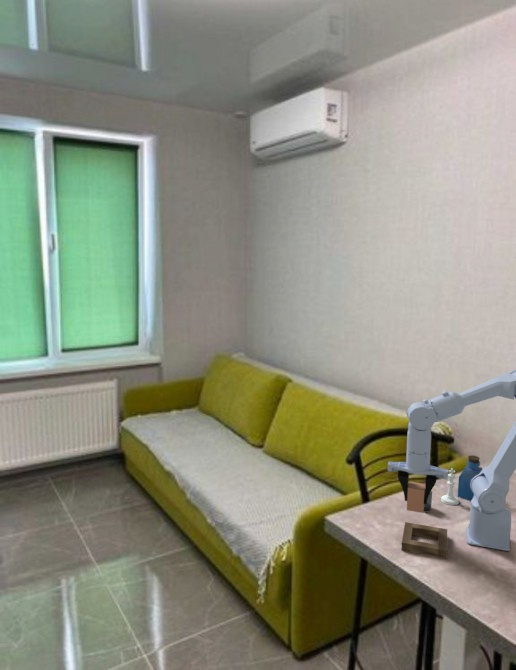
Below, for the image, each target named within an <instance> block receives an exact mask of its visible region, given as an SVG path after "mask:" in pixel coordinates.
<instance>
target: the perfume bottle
mask: <svg viewBox="0 0 516 670" xmlns="http://www.w3.org/2000/svg"><path fill="white" fill-rule="evenodd" d="M467 457H468V459H467V460H466V462H467V463H466V464H467V465H466V466H465V467H464V469H463V470H462V472H461V474H460V475H459V477H458V484H457V486H458V487H457V498H462V499H466V500H468V501H471V500H472V499H473V497H474V493H473V492H472V490H471V488H470V483H471V480H472V479H473V478H474V477H475V476H476V475H478V474H479V473H480V472H481V471H482V469H483V467H481V466H480V465H481V464H480V463H481V462H480V456H477V455H468V456H467Z"/></svg>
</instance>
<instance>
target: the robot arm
mask: <svg viewBox="0 0 516 670" xmlns="http://www.w3.org/2000/svg"><path fill="white" fill-rule="evenodd" d="M495 397H502V398H504V399H505V398H506V399H509V400H516V369H515V370H511V371H510V372H504V373H501V374H499V375H498V376H496V377H494V378H492V379H489V380H487V381H485V382H483V383H479V384H478V385H475V386H473V387H471V388H469V389H467V390H464V391H462V392H460V393H458V392H456V391H451V390H450V391H447V390H444V391H441V395H438V396H435V397H432V398H430V399H427V398H425V399H423V400H422V401H423V402H422V401H421V402H420V401H417V402H413V403H412V404H410V406H409V407H408V408H407V410H406V416H407V419H408V420H409V421H408V424H407V435H406V436H407V438H406V457H405V461H388V463H387V472H397V479H398V482H399V483H400V487H401V488H402V492H403V495H404V501H405V502H407V494H408V485H409V477H410V474H412V475H418V476H419V475H420V476H425V483H424V484H425V496H424V504H427V499H428V496H429V494H430V492H431V491H432V489H433V488H434V486H435V485H436V483H437V478H440V479H443V480H448V481H449V477H448V474H449V469H448V468H447V469H446V468H443V467H442V468H441V467H437V466H434V465H431V463H430V461H431V449H432V447H431V445H432V433H431V432H432V427H433V426H434V424H435V423H438V422H440V421H444V420H447V419H449V418H451V417H455V416H457V415H459V414H462V413H463V411H464V409H465V407H467V406H470V405H473V404H478V403H480V402H482V401H483V402H484V401H486V400H489V399H493V398H495ZM515 471H516V421H515V422H514V423H513V425H512V427H511V428H510V430H509V432H508V434H507V436H506V437H504V440H503V442H502V443H501V445H500V447H499V448H498V450H497V452H496V454H495V455H494V457H493V458H492V460H491V462H490V464H489V465H487V466H485V467H482V471H481V472H480V473H479V474H478V475H476V476H475V477H474V478H473V479H472V480H471V483H470V488H471V490H472V492H473V493H474V497H473V499H472V500H470V511H469V526H467V527H466V528H465V529H466V544H468V545H471V546H472V545H473V546H477V547H482V548H483V547H484V548H488V549H494V550H495V549H496V550H501V551H505V552H509V551H510V543H511V542H510V541H511V530H512V512H511V509H509V508H506V507H505V506H506V502H507V501H506V499H507V496H508V493H509V492H510V479H511V478H512V476H513V475H514V473H515Z"/></svg>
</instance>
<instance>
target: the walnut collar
mask: <svg viewBox="0 0 516 670" xmlns="http://www.w3.org/2000/svg"><path fill="white" fill-rule="evenodd" d="M413 535H414V536H419V537H420V536H421V537H425V538H430V539H437V540H438V542H437V544H436V543H430V542H424V541H419V540H414V539H413ZM401 539H402V540H401V549H400V550H401V551H404V552H409V553H415V554H418V555H419V554H420V555H424V556H430V557H435V558H439V559H440V558H442V559H448V529H447V528H441V527H438V526H437V527H435V526H429V525H425V524H418V523H414V522H413V523H412V522H407V521H405V522H404V526H403V533H402V538H401Z"/></svg>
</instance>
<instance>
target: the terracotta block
mask: <svg viewBox="0 0 516 670" xmlns="http://www.w3.org/2000/svg"><path fill="white" fill-rule="evenodd" d="M424 496H425V483H421V482H415V481H408V494H407V501H406V511H408V512H416V513H422V514H423V513H424V511H423V510H424Z"/></svg>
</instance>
